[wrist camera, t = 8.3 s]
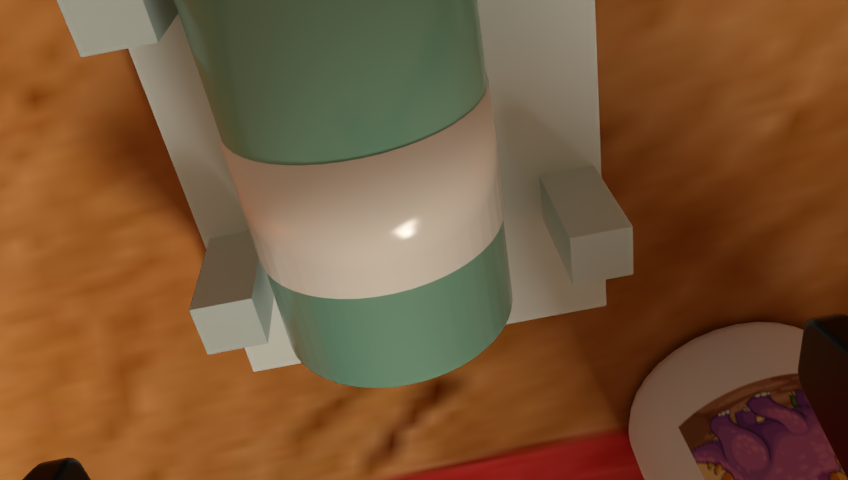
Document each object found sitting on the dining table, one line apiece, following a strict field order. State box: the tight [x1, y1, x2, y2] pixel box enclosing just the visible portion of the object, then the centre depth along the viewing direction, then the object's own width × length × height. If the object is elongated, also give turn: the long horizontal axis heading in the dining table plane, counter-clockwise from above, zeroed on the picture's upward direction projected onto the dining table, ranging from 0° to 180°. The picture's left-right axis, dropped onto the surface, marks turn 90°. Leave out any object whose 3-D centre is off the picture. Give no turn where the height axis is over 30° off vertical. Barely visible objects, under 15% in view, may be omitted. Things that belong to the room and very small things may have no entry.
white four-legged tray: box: [57, 0, 633, 372], centre depth 17 cm, size 16×11×4 cm
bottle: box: [174, 0, 513, 388], centre depth 15 cm, size 14×6×6 cm, turn 9°
